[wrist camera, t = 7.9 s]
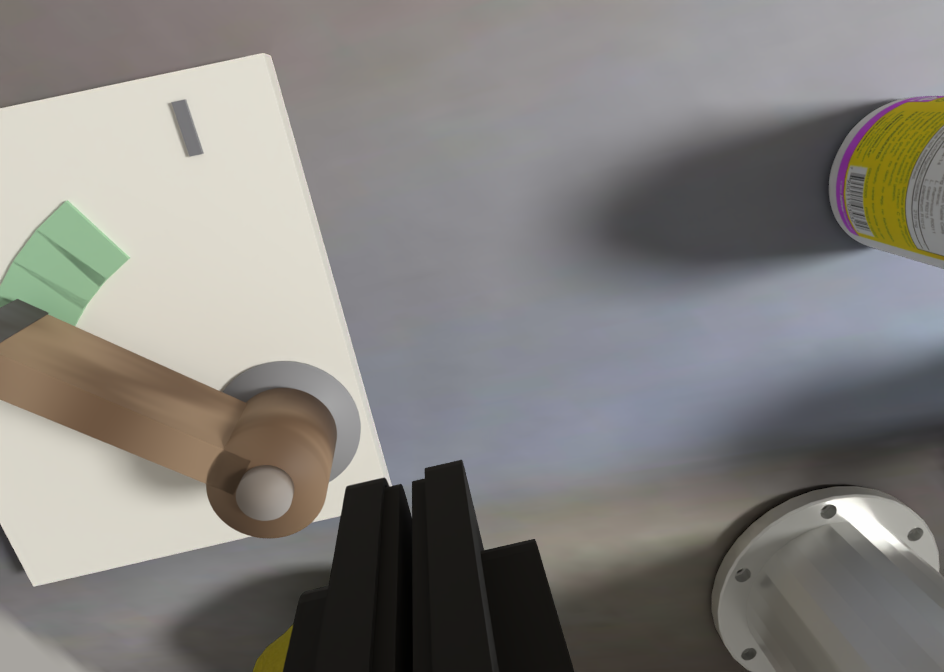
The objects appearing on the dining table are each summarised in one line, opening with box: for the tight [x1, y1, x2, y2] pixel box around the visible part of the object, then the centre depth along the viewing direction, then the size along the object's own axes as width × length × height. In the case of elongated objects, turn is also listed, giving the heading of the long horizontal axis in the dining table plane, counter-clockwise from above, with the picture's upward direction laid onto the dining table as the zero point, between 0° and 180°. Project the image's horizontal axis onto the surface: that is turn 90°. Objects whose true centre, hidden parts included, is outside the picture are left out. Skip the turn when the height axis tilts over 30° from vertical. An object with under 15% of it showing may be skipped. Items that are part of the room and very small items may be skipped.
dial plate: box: [0, 53, 392, 587], centre depth 29 cm, size 20×17×2 cm
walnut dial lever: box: [0, 299, 337, 538], centre depth 26 cm, size 14×4×5 cm, turn 60°
